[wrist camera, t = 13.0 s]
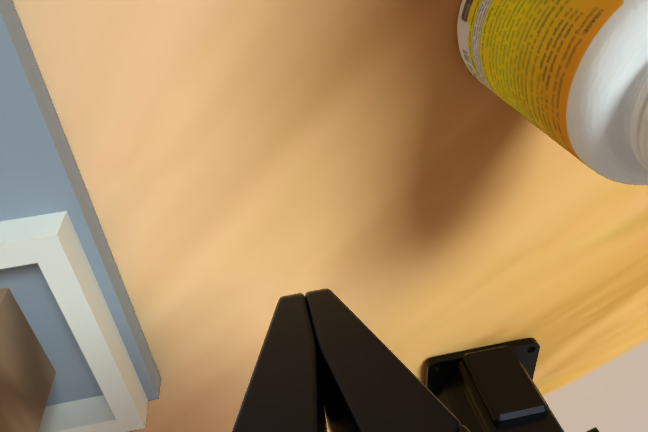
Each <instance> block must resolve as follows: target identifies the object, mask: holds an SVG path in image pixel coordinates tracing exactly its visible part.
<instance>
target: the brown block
mask: <svg viewBox="0 0 648 432" xmlns="http://www.w3.org/2000/svg"><path fill="white" fill-rule="evenodd" d="M55 374H56V371H55V369H54V368H53V366H52V364H51V362H50V361H49V359H48V357H47V355H46V353H45V352H44V350H43V348H42V346H41V344H40V343H39V341H38V339H37V337H36V336H35V334H34V332H33V330H32V328H31V327H30V325H29V323H28V321H27V319H26V318H25V316H24V314H23V312H22V310H21V309H20V307H19V305H18V303H17V302H16V300H15V298H14V296H13V294H12V293H11V291H10V289H9V287H8V288H3V289H0V432H38V429H39V426H40V423H41V419H42V416H43V413H44V410H45V406H46V403H47V400H48V397H49V393H50V390H51V387H52V383H53V380H54V377H55Z"/></svg>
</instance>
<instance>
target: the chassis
mask: <svg viewBox="0 0 648 432" xmlns="http://www.w3.org/2000/svg"><path fill="white" fill-rule="evenodd" d="M8 287H9V289H10V291H11V293H12V294H13V296H14V298H15V300H16V302H17V303H18V305H19V307H20V309H21V310H22V312H23V314H24V316H25V318H26V319H27V321H28V323H29V325H30V327H31V328H32V330H33V332H34V334H35V336H36V337H37V339H38V341H39V343H40V344H41V346H42V348H43V350H44V352H45V353H46V355H47V357H48V359H49V361H50V362H51V364H52V366H53V368H54V369H55V371H56V374H55V377H54V380H53V383H52V387H51V390H50V393H49V397H48V400H47V403H46V406H45V410H44V413H43V416H42V419H41V423H40V426H39V429H38V432H129V431H134V430H139V429H144V428H145V426H146V417H147V409H148V401H150V400H155V399H159V393H160V383H161V378H160V375H159V372H158V370H157V367H156V365H155V362H154V360H153V357H152V355H151V352H150V350H149V347H148V345H147V342H146V339H145V337H144V334H143V332H142V329H141V327H140V324H139V322H138V319H137V317H136V314H135V312H134V309H133V306H132V304H131V301H130V299H129V296H128V294H127V291H126V289H125V286H124V284H123V281H122V278H121V276H120V273H119V271H118V268H117V266H116V263H115V261H114V258H113V256H112V253H111V251H110V248H109V245H108V243H107V240H106V238H105V235H104V233H103V230H102V228H101V225H100V223H99V220H98V218H97V215H96V212H95V210H94V207H93V205H92V202H91V200H90V197H89V195H88V192H87V190H86V187H85V184H84V182H83V179H82V177H81V174H80V172H79V169H78V167H77V164H76V162H75V159H74V157H73V154H72V151H71V149H70V146H69V144H68V141H67V139H66V136H65V134H64V131H63V129H62V126H61V124H60V121H59V118H58V116H57V113H56V111H55V108H54V106H53V103H52V101H51V98H50V96H49V93H48V90H47V88H46V85H45V83H44V80H43V78H42V75H41V73H40V70H39V68H38V65H37V63H36V60H35V57H34V55H33V52H32V50H31V47H30V45H29V42H28V40H27V37H26V35H25V32H24V30H23V27H22V24H21V22H20V19H19V17H18V14H17V12H16V9H15V7H14V4H13V2H12V0H0V289H3V288H8Z"/></svg>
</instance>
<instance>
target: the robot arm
mask: <svg viewBox="0 0 648 432" xmlns="http://www.w3.org/2000/svg"><path fill="white" fill-rule="evenodd" d="M539 348H540V346H539V344H538V343H537V341H536V340H535V339H534V338H527V339H522V340H517V341H512V342H507V343H502V344H497V345H492V346H487V347H482V348H477V349H472V350H467V351H462V352H457V353H452V354H447V355H442V356H437V357H433V358H431V359H429V360H428V361H427V362H426V365H425V385H424V384H423V383H422V382H421V381H420V380H419V379H418V378H417V377H416V376H415V375H414V374H413V373H412V372H411V371H410V370H409V369H408V368H407V367H406V366H405V365H404V364H403V363H402V362H401V361H400V360H399V359H398V358H397V357H396V356H395V355H394V354H393V353H392V352H391V351H390V350H389V349H388V348H387V347H386V346H385V345H384V344H383V343H382V342H381V341H380V340H379V339H378V338H377V337H376V336H375V335H374V334H373V333H372V332H371V331H370V330H369V329H368V328H367V327H366V326H365V325H364V324H363V322H362V321H361V320H360V319H359V318H358V317H357V316H356V315H355V314H354V313H353V312H352V311H351V310H350V309H349V308H348V307H347V306H346V305H345V304H344V303H343V302H342V301H341V300H340V299H339V298H338V297H337V296H336V295H335V294H334V293H333V292H332V291H331V290H329V289H321V290H315V291H310V292H307V293H306V295H305V296H304V295H303V294H302V293H299V294H293V295H288V296H283V297H281V298H280V299H279V301H278V303H277V306H276V309H275V312H274V314H273V317H272V320H271V323H270V326H269V329H268V331H267V334H266V337H265V340H264V343H263V346H262V349H261V351H260V354H259V357H258V360H257V363H256V366H255V368H254V371H253V374H252V377H251V380H250V383H249V385H248V388H247V391H246V394H245V397H244V400H243V402H242V405H241V408H240V411H239V414H238V417H237V419H236V422H235V425H234V428H233V431H232V432H327V425H326V418H327V423H328V426H329V429H330V432H564V431H563V429H562V428H561V426H560V424H559V423H558V421H557V419H556V418H555V417H554V415H553V413H552V411H551V410H550V408H549V407H548V405H547V403H546V401H545V400H544V398H543V397H542V395H541V393H540V392H539V390H538V389H537V387H536V385H535V384H534V382H533V381H532V379H533V375H534V371H535V366H536V362H537V357H538V353H539ZM325 414H326V417H325ZM587 432H599V431H598V429H597V428H596V427H595V428H593V429H591V430H589V431H587Z"/></svg>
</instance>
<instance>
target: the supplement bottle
mask: <svg viewBox="0 0 648 432" xmlns="http://www.w3.org/2000/svg"><path fill="white" fill-rule="evenodd" d="M457 37H458V45H459V49H460V53H461V56H462V58H463V61H464V63H465V65H466V66H467V68H468V69H469V71H470V72H471V73H472V75H473V76H474V77H475V78H476V79H477V80H478V81H479V82H481V83H482V84H483V85H484V86H486V87H487V88H488V89H489V90H491V91H492V92H493V93H494V94H496V95H497V96H498V97H500V98H501V99H502V100H503V101H505V102H506V103H507V104H508V105H510V106H511V107H512V108H513V109H515V110H516V111H517V112H519V113H520V114H521V115H522V116H524V117H525V118H526V119H528V120H529V121H530V122H531V123H533V124H534V125H535V126H536V127H538V128H539V129H540V130H542V131H543V132H544V133H545V134H547V135H548V136H549V137H550V138H552V139H553V140H554V141H556V142H557V143H558V144H559V145H561V146H562V147H563V148H565V149H566V150H567V151H569V152H570V153H571V154H572V155H574V156H575V157H576V158H578V159H579V160H580V161H581V162H583V163H584V164H585V165H587V166H588V167H589V168H591V169H592V170H594V171H595V172H596V173H598V174H600V175H601V176H603V177H605V178H607V179H610V180H613V181H616V182H620V183H624V184H631V185H648V0H462V3H461V7H460V10H459V15H458V23H457Z"/></svg>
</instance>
